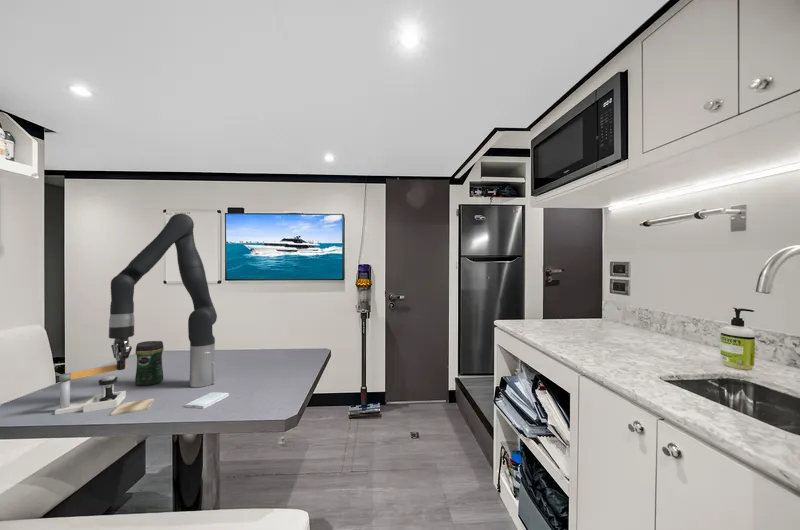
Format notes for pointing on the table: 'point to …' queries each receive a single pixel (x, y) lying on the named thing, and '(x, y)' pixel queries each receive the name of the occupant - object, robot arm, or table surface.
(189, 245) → the robot arm
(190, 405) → the hard drive
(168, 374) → the table surface
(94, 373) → the bar
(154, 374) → the coffee jar
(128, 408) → the wood pad
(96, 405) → the socket housing
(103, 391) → the push button
